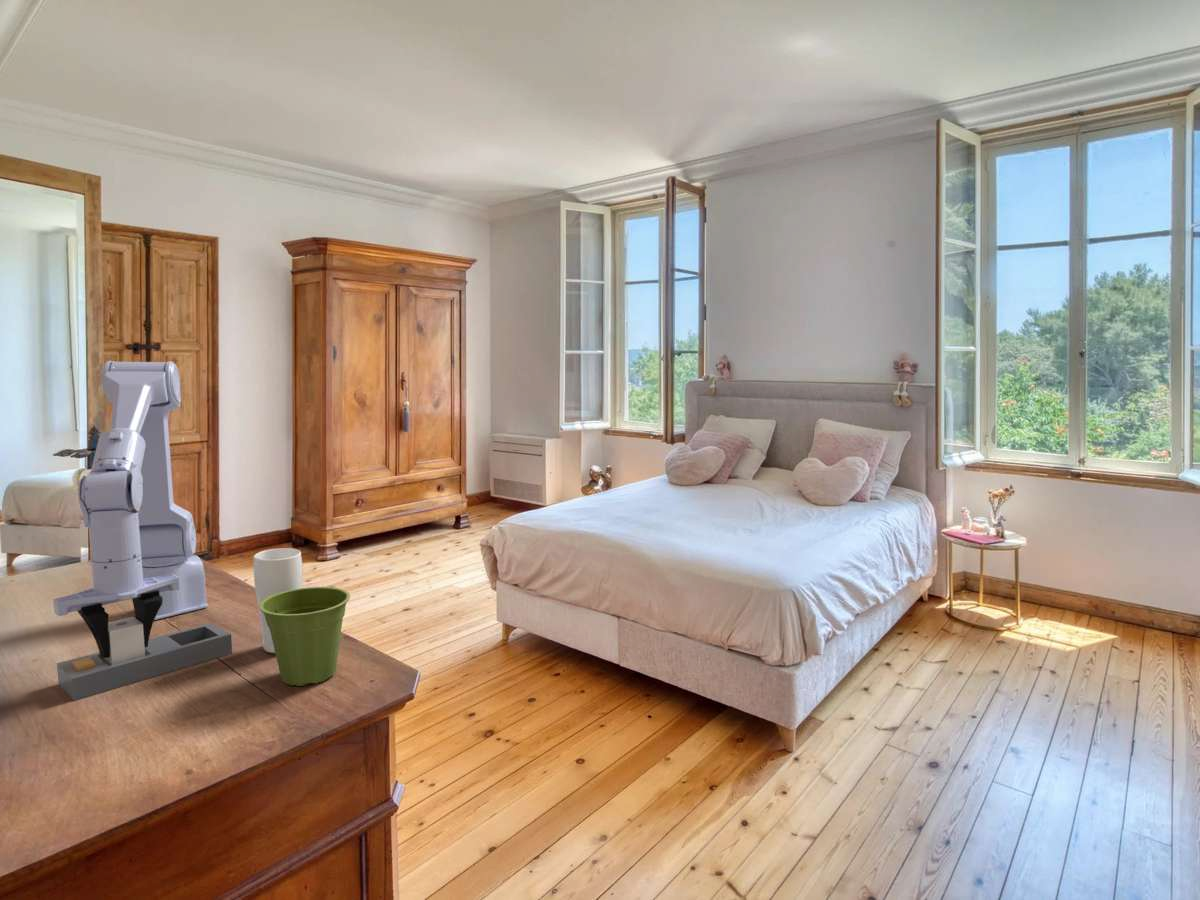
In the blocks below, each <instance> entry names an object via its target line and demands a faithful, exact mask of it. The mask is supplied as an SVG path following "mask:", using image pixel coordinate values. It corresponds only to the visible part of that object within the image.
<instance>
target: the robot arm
mask: <svg viewBox="0 0 1200 900" xmlns="http://www.w3.org/2000/svg"><path fill="white" fill-rule="evenodd" d="M100 379H101V388H102V391H103V394H104V396H105V397H106V398H107V400H108V403H109V404H112V411H111V420H110V429H109V430H106V431H103V433H102V434H100V436H99V437H98V442H97V444H96V449H95V454H94V457H93V461H92V465H91V468H90V471H89V473H87V475H83V476H81V477H80V480H79V482H78V490H77V493H78V497H77V498H78V504H79V507H80V510H81V513H82V516H83V517H82V518H83V524H84V527H85V528H87V529H88V535H89V536H88V537H89V546H90V547H89V548H90V560H91V561H90V562H91V571H92V572H91V573H92V582H93V584H92V585H93V587H92V588H88V589H86V590H82V591H79V592H76V593H73V594H69V595H65V596H60V597H57V598H54V599H53V609H54V614H55V615H56V616H57V617H63V616H67V615H69V613H75V612H77V613H78V614H79V615H80V617H81V618H82V619H83V620H84V622H85V624H86V626H87V627H88V629H89V630H90V633H91V634H92V635H93V638H94V641H95V643H96V645H97V648H98V652H99V653H100V655H101V656H102V657H103V658H108V657H110V645H109V638H108V622H109V616H110V614H109V613H108V612H107V611H105V607H104V606H105V605H110V604H113V603H118V602H122V601H123V602H124V601H126V600H127V601H128V600H132V604H133V607H132V608H133V609H132V610H133V611H134V616H135V617H134V618H136V619H137V620H138V621H140V622H141V623H143V632H144V645H145V647H148V641H149V639H150V636H151V631H152V627H153V626H154V625H153V624H154V622H155V621H156V620H160V619H164V618H169V617H172V616H177V615H180V614H181V615H182V614H184V613H185V614H186V613H189V612H194V611H197V610H200V609H205V608H208V607H209V603H207V593H206V592H207V589H206V576H205V575H206V573H205V568H204V564H203V561H202V559H201V558H200V557H199V556H198V555H195V554H196V553H195V552H196V548H197V534H196V533H197V532H196V527H195V522H194V517H193V514H192V513H191V512H190V511H189V510H186V509H184V508H183V507H181V506H179V505H177V504H176V503H175V502H174V490H173V477H172V476H173V475H172V464H171V463H172V461H171V447H170V432H169V416H170V412H172V411H174V410H177V409H179V408H180V407H181V402H182V401H181V400H182V398H181V397H182V395H181V394H182V393H181V382H180V374H179V368H178V366H177V364H175V363H174V362H173V361H171V360H169V361H167V362H165V361H162V362H161V361H114V360H107V361H106V362H105V364H103V365H102V368H101V378H100Z"/></svg>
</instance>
